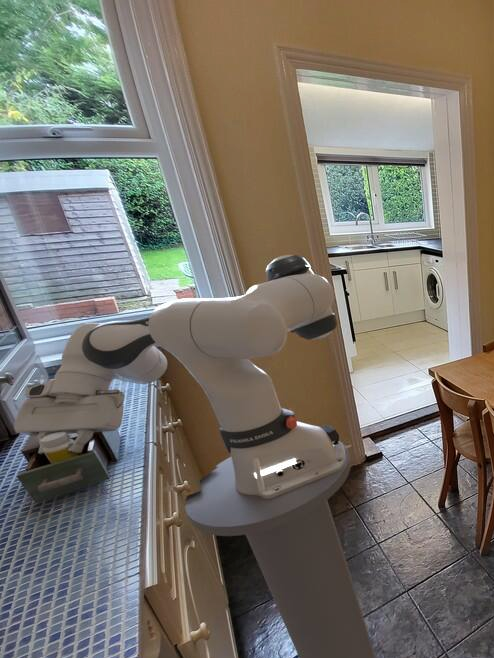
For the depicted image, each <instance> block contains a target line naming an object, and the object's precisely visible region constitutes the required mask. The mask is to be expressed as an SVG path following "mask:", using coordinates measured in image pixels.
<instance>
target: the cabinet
mask: <svg viewBox="0 0 494 658" xmlns="http://www.w3.org/2000/svg"><path fill="white" fill-rule="evenodd" d="M76 434H77V433H71V434H68V435H69V437H70V438H69V439H72V440H74V441H75V440H76V438H77V437H78V436H79V435H76ZM97 434H98V435H99V437H100V439H101V441H102V442H103V444H104V446H105V448H106V450H107V451H108V453H109V458H108V464H107V465H110V464H113V463H116V462H119V457H120V451H121V450H120V448H121V440H122V436H121V434H120V433H119V430H118V429H117V430H116V431H105V432H94V433H93V435H97ZM37 437H38V435H36V436H30V435H29V437H28V438H27V441H26V442H25V444H24V446H23V448H22V450H21V451H20V452H21V454H22V455H23V457H24V459H25V460H26V461H27V464H28V463H29V461H30V459H31V457H32V455H33V453H34V452H36V451H39V448H40V444H39V441H38V438H37Z"/></svg>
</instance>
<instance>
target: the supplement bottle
mask: <svg viewBox="0 0 494 658" xmlns="http://www.w3.org/2000/svg"><path fill="white" fill-rule="evenodd" d="M69 438H70V437H69V435H68V434H67V432H57V433H53V434H50V435H47V436H45V437H43V438H42V439H41V440H40V442H41V443H42V445H43V446H44V447H45V448H44V449H43V451H44V453H45V454H46V456H47V458H48V459H49V461H50V462H51V464H52V463H56V462H59V461H62V460H66V459H69V458H73V457H76V456H79V455H82V453H70V452H67V449H68V445H69V444H71V443H73V442H74V440H72V439H69Z"/></svg>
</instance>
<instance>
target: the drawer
mask: <svg viewBox="0 0 494 658" xmlns="http://www.w3.org/2000/svg"><path fill="white" fill-rule="evenodd" d="M81 453H82V455H79V456H76V457H73V458H69V459H66V460H62V461H59V462H56V463H52V464H51V462H50V461H49V459H48V458H47V456H46V455H43V454H39V453H38V451H36V452H34V453H33V455H32V457H31V459H30V461H29V463H28V462H27V465H26V467H25V469H24V471H22V472H19V473H17V474H16V478H17V479H18V481H19V482H20V483H21V485H22V486H23V488H24V489H25V491H26V492H27V494H28V495H29V497H30V498H31V500H32V501H33V502H34V504H39V503H40V502H44V501H47V500H50V499H53V498H56V497H59V496H62V495H65V494H68V493H71V492H72V493H73V492H74V491H77V490H80V489H83V488H87V487H90V486H93V485H95V484H100V483H102V482H105V481H108V480H110V479H111V475H110V473H109V472H108V470H107V469H108V465H109V464H108V458H109V453H108V451H107V450H106V448H105V446H104V444H103V442H102V441H101V439H100V437H99V435H98V434H97V435H93V436H92V438H91V439H90V440H89V441H88V442H87V443H86V444H85V445H84V447H83V450H82V452H81Z"/></svg>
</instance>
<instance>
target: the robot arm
mask: <svg viewBox="0 0 494 658" xmlns="http://www.w3.org/2000/svg"><path fill="white" fill-rule="evenodd" d="M311 268H312V266H311V264H310V263H309V262H308V261H307V260H306V259H305V258H304V257H302V256H300V255H298V254H295V255H294V254H285V255H280V256H278V257H276V258H275V259H273V260H271V262H270V263H268V264H267V266H266V269H265V275H266V278H267V281H265V282H262V283H258V284H254V285H252V286H251V287H250V288H248V289H247V291H246V293H245V294H243V295H240V296H233V297H232V296H231V297H217V298H210V297H209V298H208V297H207V298H203V297H201V298H199V297H198V298H197V297H196V298H195V297H192V298H191V297H190V298H189V297H185V298H180V299H176V300H172V301H168V302H164V303H163V304H160V305H158V306H157V307H156V308H155V309H153V310H152V312H151V313H150V315H149V316H146V317H141V318H137V319H129V320H114V321H113V320H112V321H106V322H89V323H88V322H87V323H84V324H83V323H82V324H81V325H79V326H77V327H76V328H75V329H74V330H73V332H72V333H71V335H70V336H69V338H68V340H67V343H66V344H65V347H64V349H63V351H62V354H61V365H60V367H59V369H57V371H56V372H55V374H54V377H53V378H51V379H49V380H47V381H44V382H42V383H40V384H37V385H34V386H30V387H29V388H27V389H26V391H25V393H24V397H25V398H28V399H26V400H25V401H24V402H23V403H22V404H21V405H20V408H19V410H18V412H17V415H16V418H15V421H14V424H13V429H14V431H15V433H17V434H21V435H26V436H29V437H30V436H36V435H38V437H37V438H38V441H39V444H40V448H39V451H38V453H39V454H43V455H46V454H45V453H44V451H43V449H44V448H45V447H44V446H43V445H42V443H41V442H40V440H41V439H42V438H43V437H45V436H47V435H50V434H53V433H57V432H67V434H71V433H77V434H76V435H79V436H78V437H77V438H76V440H75V441H74V442H73V443H71V444H69V445H68V449H67V452H70V453H81V452H82V450H83V447H84V445H85V444H86V443H87V442H88V441H89V440H90V439H91V438H92V436H93V433H94V432H105V431H116V430H118V429H119V428H120V427H122V421H123V416H124V408H125V406H124V402H125V401H124V400H125V397H126V396H125V394H124V392H122V391H121V390H120V389H116V388H115V389H110V386H111V383H112V382H113V380H118V381H122V382H126V383H131V384H137V385H146V384H151V383H154V382H156V381H158V380H160V379H161V378H162V377H163V376H164V375H165V374H166V371H167V370H168V365H169V361H168V359H167V356H166V355H164V353H163V352H162V351H161V350H160V349H159V348H157V346H159V347H160V348H162V349H164V350H165V351H166V352H168V353H170V354H171V355H172V356H173V357H175V359H177V360H178V361H179V362H180V364H182V365H183V367H184V368H185V369H186V370H187V372H188V373H189V374H190V375H191V376H192V377H193V378H194V379H195V381H196V382H197V383H198V385H199V386H200V387H201V389H202V390H203V392H204V393H205V395H206V397H207V399H208V401H209V403H210V405H211V407H212V410H213V412H214V414H215V417H216V419H217V421H218V424H219V429H218V430H219V435H220V438H221V440H222V443H223V445H224V448H226V451H227V453H229V454H230V457H231V458H232V462H233V467H234V473H235V488H236V490H237V491H238V492H240V493H242V494H246V495H258V496H261V497H262V498H265V499H272V498H274V497H277V496H279V495H282V494H284V493H286V492H289V491H291V490H294V489H296V488H299V487H301V486H304V485H306V484H308V483H311V482H313V481H316V480H318V479H321V478H323V477H325V476H328V475H330V474H333V473H335V472H338V471H340V470H341V469H342V468H343V466H344V465H345V462H346V452H345V449H344V447H343V445H342V444H341V443H342V442H341V441H340V434H339V433H338V432H337V429H335V428H334V427H332V426H330V425H329V424H327V423H326V424H324V425H321V426H318V425H313V424H309V423H305V422H301V421H298V419H297V417H296V416H295V412H294V410H293V409H292V407H291V406H289V407H288V409H287V408H284V407H281V404H280V401H279V398H278V395H277V391H276V389H275V386H274V382H273V380H272V378H271V377H270V376H269V374H267V372H265V371H264V370H263V369H261V368H259V367H258V366H256V364H254V362H252V361H251V359H258V358H264V357H270V356H273V355H275V354H277V353H278V352H280V351H281V350H282V349H283V347H284V346H285V344H286V342H287V338H288V333H289V332H290V333H292V334H293V333H295V334H296V335H297V336H299V338H302V339H305V340H307V341H310V340H320V339H324V338H325V337H327V336H329V335H330V334H331V333H333V331H335V330H336V329H337V327H338V320H337V317H336V314H335V313H334V312H333V309H332V306H333V303H334V301H335V293H334V289H333V287H332V285H331V283H330V281H328V280H327V279H326V278H325V277H324V276H321V275H319V274H315V273H314V271H313V270H312V269H311ZM339 441H340V442H341V443H340V442H339Z"/></svg>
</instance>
